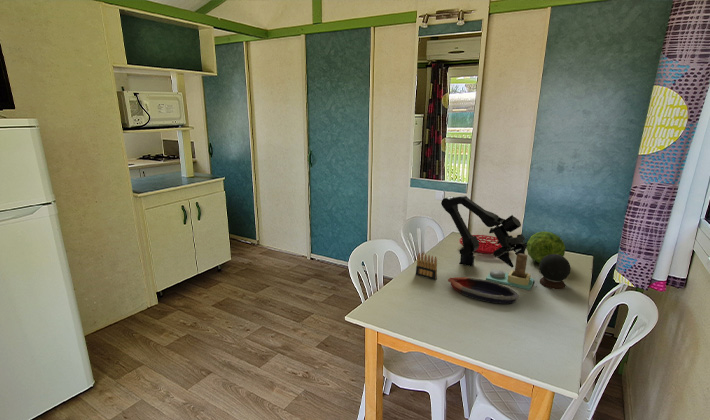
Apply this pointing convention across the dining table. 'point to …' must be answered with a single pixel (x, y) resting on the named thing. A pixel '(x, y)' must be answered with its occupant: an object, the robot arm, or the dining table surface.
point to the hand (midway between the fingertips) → (519, 265)
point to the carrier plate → (510, 279)
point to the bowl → (486, 244)
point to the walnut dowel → (520, 265)
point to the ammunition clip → (426, 267)
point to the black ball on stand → (554, 271)
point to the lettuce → (544, 245)
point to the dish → (483, 290)
